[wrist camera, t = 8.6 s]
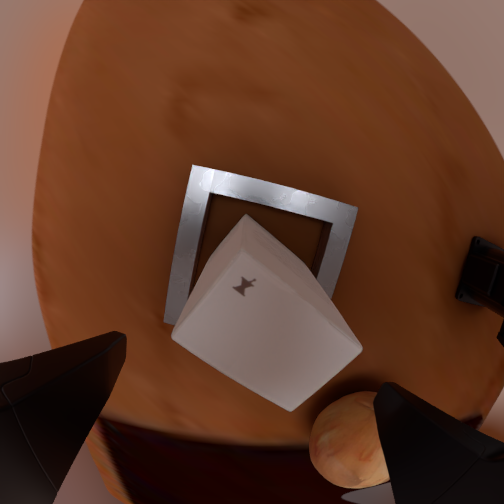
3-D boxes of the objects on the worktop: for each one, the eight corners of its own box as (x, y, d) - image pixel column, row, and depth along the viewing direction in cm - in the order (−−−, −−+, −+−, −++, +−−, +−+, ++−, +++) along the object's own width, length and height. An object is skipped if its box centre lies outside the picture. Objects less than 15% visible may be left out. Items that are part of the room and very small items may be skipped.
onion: (401, 365, 23) (450, 429, 14) (375, 430, 25) (403, 492, 16) (310, 374, 23) (336, 459, 13) (295, 440, 25) (308, 513, 16)
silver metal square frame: (348, 205, 20) (358, 207, 18) (306, 340, 22) (310, 353, 20) (198, 167, 19) (192, 164, 17) (170, 311, 22) (163, 322, 20)
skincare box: (208, 256, 21) (162, 336, 9) (245, 212, 20) (241, 242, 8) (270, 305, 22) (290, 416, 10) (307, 264, 21) (369, 347, 9)
